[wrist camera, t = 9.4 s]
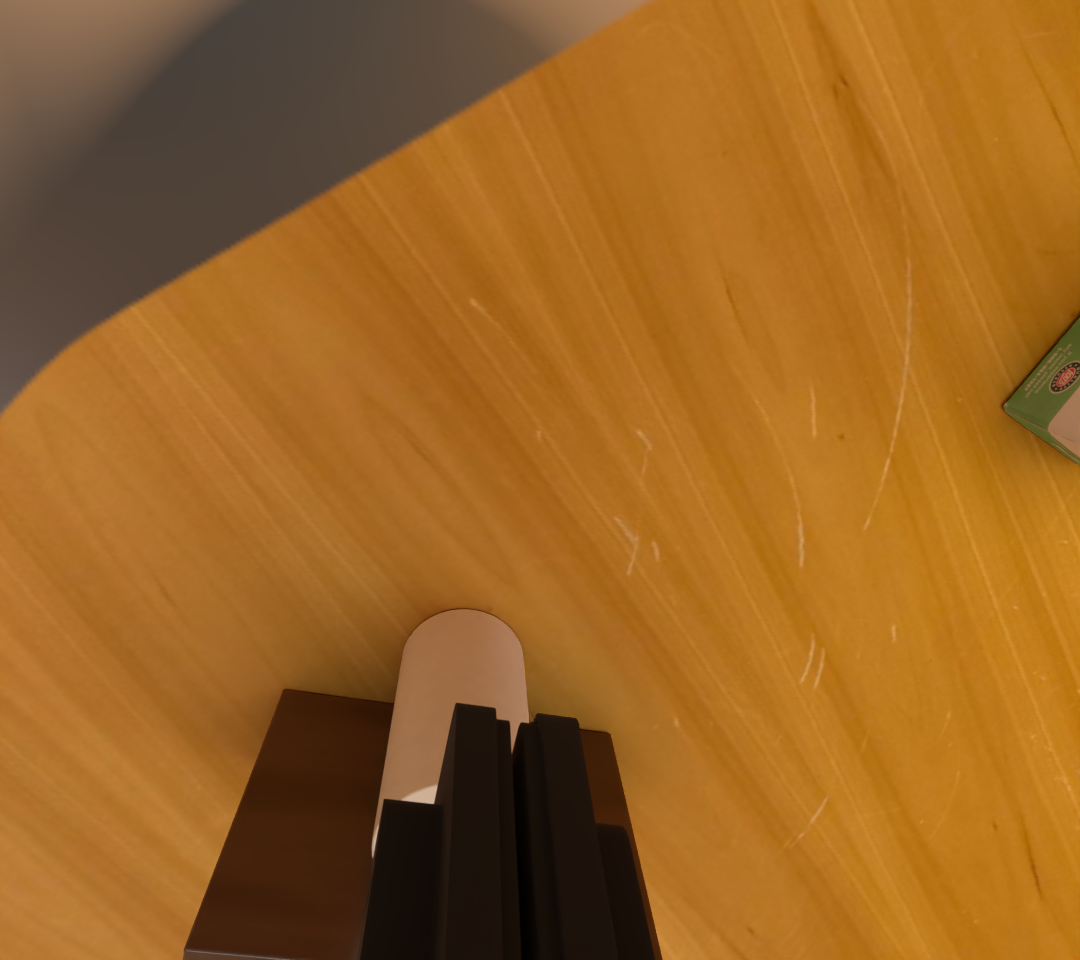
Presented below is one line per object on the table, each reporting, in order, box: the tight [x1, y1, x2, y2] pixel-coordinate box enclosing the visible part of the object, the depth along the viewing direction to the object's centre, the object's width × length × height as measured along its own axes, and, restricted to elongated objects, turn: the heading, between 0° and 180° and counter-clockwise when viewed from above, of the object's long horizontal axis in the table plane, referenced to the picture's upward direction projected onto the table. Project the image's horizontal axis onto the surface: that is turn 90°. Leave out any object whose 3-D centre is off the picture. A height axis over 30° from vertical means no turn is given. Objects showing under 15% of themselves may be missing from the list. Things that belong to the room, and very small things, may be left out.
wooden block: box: [183, 690, 663, 960], centre depth 29 cm, size 4×14×12 cm, turn 78°
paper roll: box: [372, 609, 529, 858], centre depth 29 cm, size 9×5×11 cm, turn 168°
